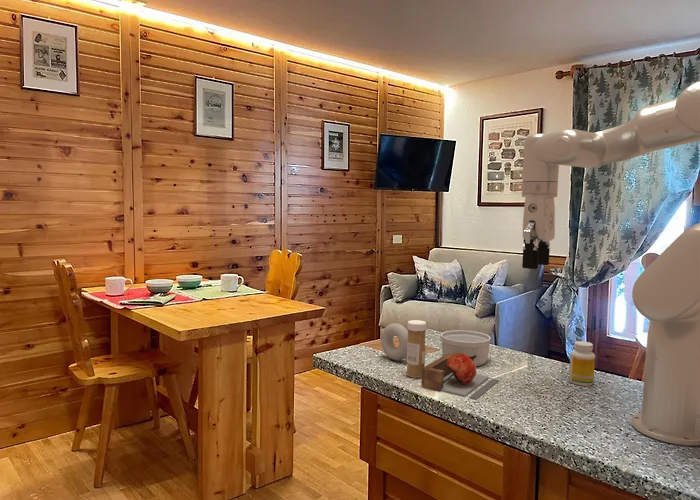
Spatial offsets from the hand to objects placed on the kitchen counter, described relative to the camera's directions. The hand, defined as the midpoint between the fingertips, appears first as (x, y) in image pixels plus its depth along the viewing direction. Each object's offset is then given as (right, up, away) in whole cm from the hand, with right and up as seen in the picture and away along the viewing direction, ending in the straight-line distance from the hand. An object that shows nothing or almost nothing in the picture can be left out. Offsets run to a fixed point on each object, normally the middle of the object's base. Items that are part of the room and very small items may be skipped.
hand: (535, 266), depth 117 cm
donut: (-30, -26, +21) cm, 45 cm away
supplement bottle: (+13, -28, +7) cm, 32 cm away
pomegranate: (-17, -27, +3) cm, 32 cm away
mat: (-16, -28, +4) cm, 32 cm away
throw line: (-11, -28, +1) cm, 30 cm away
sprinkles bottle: (-26, -27, +9) cm, 39 cm away
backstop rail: (-19, -27, +6) cm, 34 cm away
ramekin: (-11, -26, +22) cm, 36 cm away
